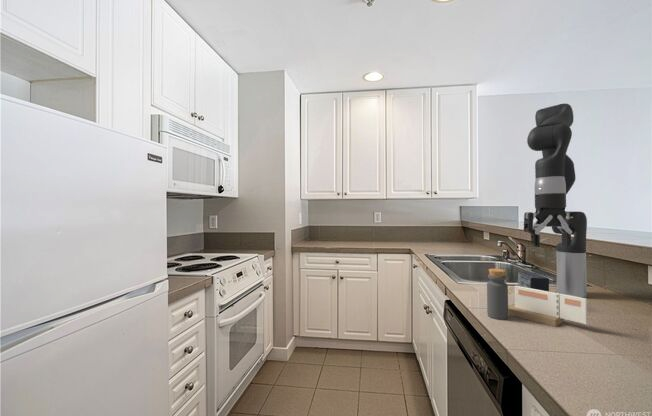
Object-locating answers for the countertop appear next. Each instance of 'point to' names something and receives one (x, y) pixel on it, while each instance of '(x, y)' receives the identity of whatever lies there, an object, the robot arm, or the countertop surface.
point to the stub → (573, 308)
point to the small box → (533, 281)
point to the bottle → (497, 295)
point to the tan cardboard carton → (536, 306)
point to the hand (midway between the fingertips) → (550, 246)
